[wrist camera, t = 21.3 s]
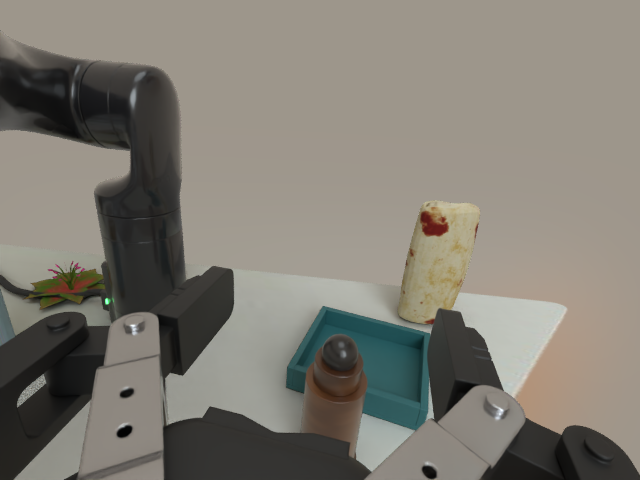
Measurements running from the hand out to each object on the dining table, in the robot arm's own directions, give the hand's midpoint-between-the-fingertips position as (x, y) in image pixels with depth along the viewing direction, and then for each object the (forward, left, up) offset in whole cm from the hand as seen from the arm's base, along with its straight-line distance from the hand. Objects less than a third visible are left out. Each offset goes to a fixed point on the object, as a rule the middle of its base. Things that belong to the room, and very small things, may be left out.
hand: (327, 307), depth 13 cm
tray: (0, +24, -24) cm, 34 cm away
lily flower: (-47, +22, -24) cm, 57 cm away
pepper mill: (-1, +11, -24) cm, 26 cm away
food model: (+7, +39, -24) cm, 47 cm away
